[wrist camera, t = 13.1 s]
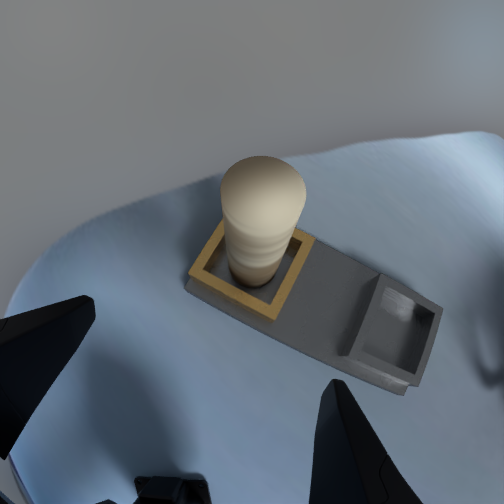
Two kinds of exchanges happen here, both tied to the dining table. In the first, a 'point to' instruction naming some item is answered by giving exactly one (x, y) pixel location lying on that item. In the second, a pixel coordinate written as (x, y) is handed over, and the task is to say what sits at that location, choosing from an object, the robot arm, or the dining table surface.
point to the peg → (259, 216)
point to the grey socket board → (327, 310)
